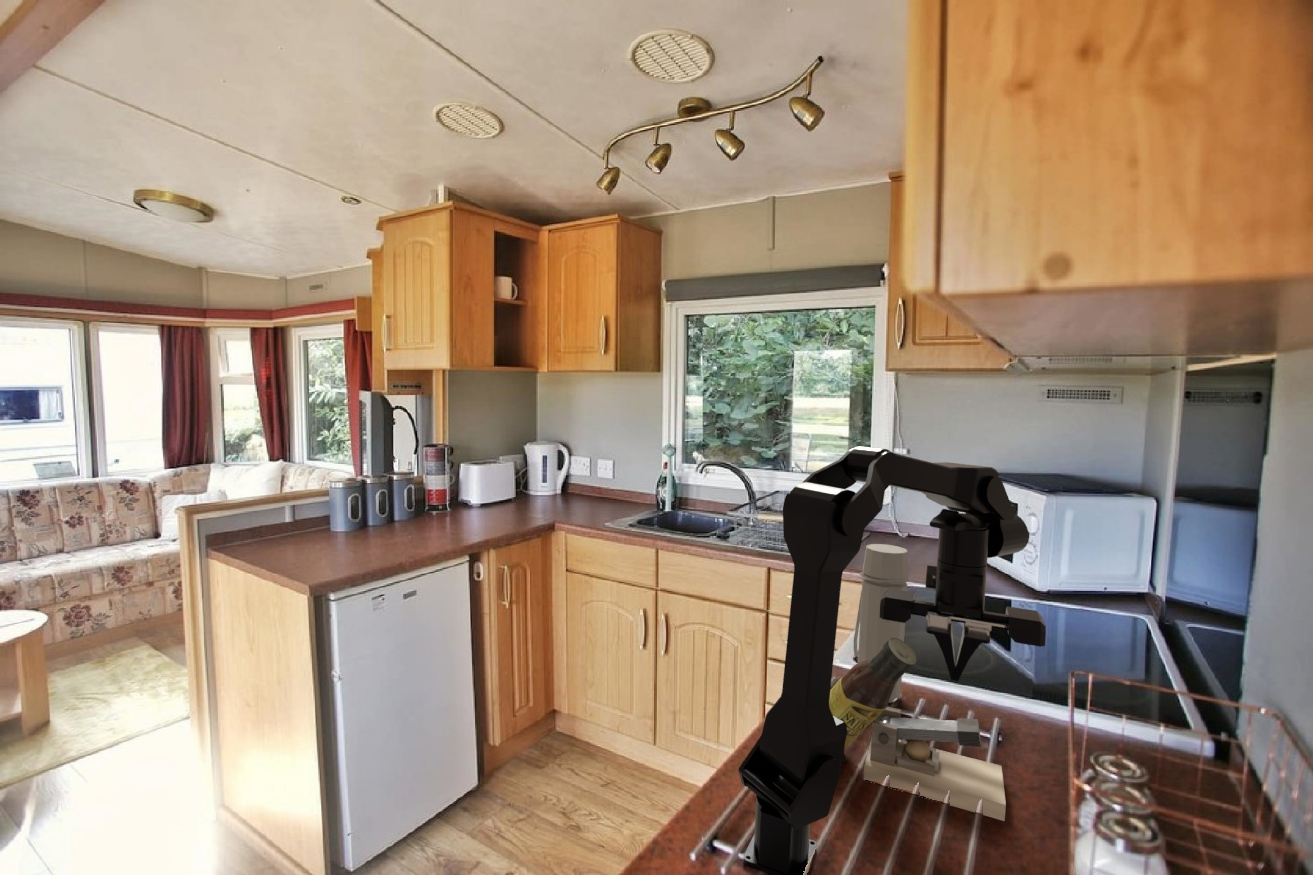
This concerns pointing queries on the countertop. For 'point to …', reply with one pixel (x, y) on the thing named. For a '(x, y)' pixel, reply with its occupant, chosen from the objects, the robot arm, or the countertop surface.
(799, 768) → the robot arm
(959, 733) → the nutcracker lever
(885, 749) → the nutcracker base
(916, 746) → the walnut
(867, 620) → the water bottle
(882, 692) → the sauce bottle
